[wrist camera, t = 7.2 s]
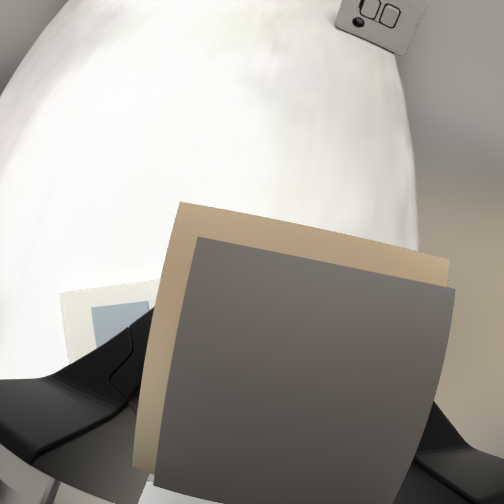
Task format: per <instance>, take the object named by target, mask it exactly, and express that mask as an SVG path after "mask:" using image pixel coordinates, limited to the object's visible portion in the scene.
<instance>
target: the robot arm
mask: <svg viewBox="0 0 504 504" xmlns="http://www.w3.org/2000/svg"><path fill="white" fill-rule="evenodd" d="M154 307H155V306H154ZM154 307H153V308H152V309H150V310H149V311H148V312H146V313H145V314H144V315H142V316H141V317H140V318H138V319H137V320H136V321H134V322H133V323H132V324H130V325H129V327H126V328H125V329H124V330H122V331H121V332H120V333H118V334H117V335H116V336H114V337H113V338H111V339H110V340H108V341H107V342H106V343H104V344H103V345H101V346H99V347H98V348H96V349H95V350H93V351H91V352H90V353H88V354H86V355H85V356H83V357H81V358H80V359H78V360H76V361H75V362H73V363H71V364H70V365H68V366H66V367H64V368H63V369H61V370H59V371H58V372H56V373H54V374H51V375H49V376H46V377H42V378H35V379H4V380H0V504H113V503H114V504H138V502H139V499H140V497H141V494H142V492H143V489H144V487H145V484H146V482H147V479H148V477H149V474H150V473H147V472H145V471H142V470H139V469H136V468H134V467H132V461H133V449H134V438H135V428H136V419H137V411H138V403H139V396H140V388H141V381H142V375H143V368H144V362H145V356H146V350H147V344H148V339H149V333H150V328H151V322H152V317H153V312H154ZM392 504H504V459H502V458H500V457H497V456H494V455H491V454H488V453H485V452H482V451H479V450H477V449H475V448H473V447H472V446H470V445H469V444H468V443H466V441H465V440H464V439H463V438H462V437H461V435H460V434H459V433H458V432H457V430H456V429H455V428H454V426H453V425H452V424H451V422H450V421H449V420H448V419H447V418H446V416H445V415H444V414H443V412H442V411H441V410H440V408H439V407H438V406H437V404H436V403H435V402H434V401H433V404H432V407H431V410H430V414H429V417H428V420H427V423H426V426H425V429H424V431H423V434H422V437H421V440H420V442H419V445H418V448H417V450H416V453H415V455H414V458H413V460H412V462H411V465H410V467H409V469H408V472H407V474H406V476H405V478H404V480H403V483H402V485H401V487H400V489H399V491H398V493H397V495H396V497H395V499H394V501H393V503H392Z"/></svg>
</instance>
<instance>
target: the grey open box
mask: <svg viewBox="0 0 504 504" xmlns="http://www.w3.org/2000/svg"><path fill="white" fill-rule="evenodd" d="M428 5H429V2H428V0H342V3H341V6H340V9H339V12H338V16H337V19H336V22H335V23H336V26H337V27H338V28H339V29H342V30H344V31H347V32H350V33H352V34H354V35H357V36H359V37H362V38H364V39H366V40H368V41H371V42H373V43H375V44H377V45H379V46H381V47H383V48H386V49H388V50H390V51H392V52H394V53H396V54H398V55H401V56H402V55H405V54H406V52H407V50H408V48H409V46H410V44H411V42H412V40H413V38H414V36H415V34H416V31H417V29H418V27H419V25H420V23H421V20H422V18H423V16H424V14H425V12H426V10H427V7H428ZM357 18H359V19H361V20H362V21H363V23H362V24H360V23H358V22H357V20H356V19H357Z"/></svg>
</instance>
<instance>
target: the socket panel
mask: <svg viewBox="0 0 504 504" xmlns="http://www.w3.org/2000/svg"><path fill="white" fill-rule="evenodd" d="M159 284H160V279H158V280H151V281H144V282H137V283H130V284H123V285H116V286H109V287H102V288H94V289H87V290H80V291H72V292H65V293H60V300H61V310H62V319H63V327H64V334H65V341H66V347H67V353H68V359H69V364H71V363H73V362H75V361H76V360H78V359H80V358H81V357H83V356H85V355H86V354H88V353H90V352H91V351H93V350H95V349H96V348H98V347H99V346H101V345H103V344H104V343H106V342H107V341H108V340H110V339H111V338H113V337H114V336H116V335H117V334H118V333H120V332H121V331H122V330H124V329H125V328H126V327H129V325H130V324H132V323H133V322H134V321H136V320H137V319H138V318H140V317H141V316H142V315H144V314H145V313H146V312H148V311H149V310H150V309H152V308H153V307H154V306H155V302H156V298H157V293H158V288H159ZM147 481H154V475H153V474H149V477H148V479H147Z"/></svg>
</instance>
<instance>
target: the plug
mask: <svg viewBox="0 0 504 504" xmlns="http://www.w3.org/2000/svg"><path fill="white" fill-rule="evenodd" d="M448 273H449V260H448V259H445V258H441V257H437V256H433V255H429V254H425V253H421V252H418V251H414V250H410V249H406V248H402V247H397V246H393V245H389V244H385V243H381V242H376V241H372V240H368V239H364V238H359V237H355V236H350V235H346V234H342V233H337V232H332V231H328V230H323V229H319V228H314V227H309V226H305V225H300V224H295V223H290V222H285V221H280V220H275V219H270V218H265V217H260V216H255V215H250V214H245V213H240V212H234V211H229V210H224V209H218V208H213V207H207V206H202V205H196V204H190V203H185V202H180V204H179V207H178V211H177V215H176V218H175V222H174V226H173V230H172V233H171V237H170V241H169V245H168V249H167V253H166V258H165V262H164V266H163V270H162V275H161V279H160V284H159V288H158V293H157V298H156V302H155V307H154V312H153V317H152V322H151V328H150V333H149V339H148V344H147V350H146V356H145V362H144V368H143V375H142V381H141V388H140V396H139V403H138V411H137V419H136V428H135V438H134V449H133V461H132V467H134V468H136V469H139V470H142V471H145V472H147V473H150V474H153V475H154V484H153V485H154V486H157V487H160V488H163V489H167V490H170V491H173V492H177V493H181V494H184V495H188V496H192V497H196V498H200V499H205V500H209V501H214V502H219V503H224V504H392V503H393V501H394V499H395V497H396V495H397V493H398V491H399V489H400V487H401V485H402V483H403V480H404V478H405V476H406V474H407V472H408V469H409V467H410V465H411V462H412V460H413V458H414V455H415V453H416V450H417V448H418V445H419V442H420V440H421V437H422V434H423V431H424V429H425V426H426V423H427V420H428V417H429V414H430V410H431V407H432V404H433V401H434V397H435V394H436V390H437V386H438V383H439V379H440V374H441V371H442V366H443V362H444V357H445V353H446V348H447V343H448V337H449V332H450V326H451V319H452V313H453V305H454V297H455V289H453V288H448V287H447V284H448Z"/></svg>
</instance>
